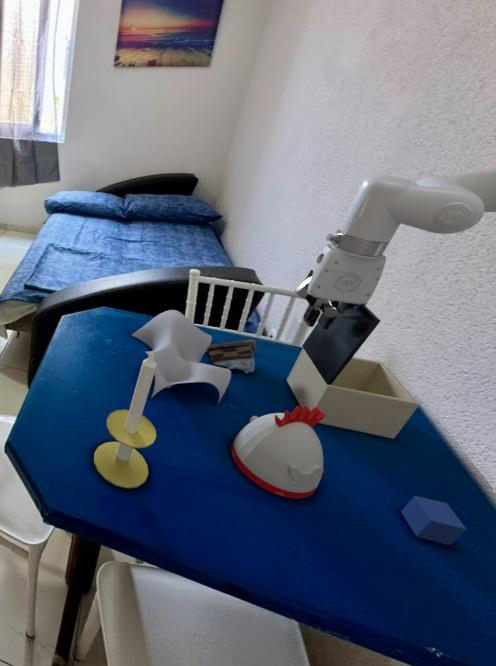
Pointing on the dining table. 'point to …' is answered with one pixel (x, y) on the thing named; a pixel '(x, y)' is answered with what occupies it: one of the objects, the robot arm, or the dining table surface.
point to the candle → (129, 437)
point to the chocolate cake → (234, 354)
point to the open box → (354, 396)
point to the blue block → (433, 520)
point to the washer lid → (339, 338)
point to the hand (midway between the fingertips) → (315, 324)
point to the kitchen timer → (282, 452)
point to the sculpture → (180, 352)
